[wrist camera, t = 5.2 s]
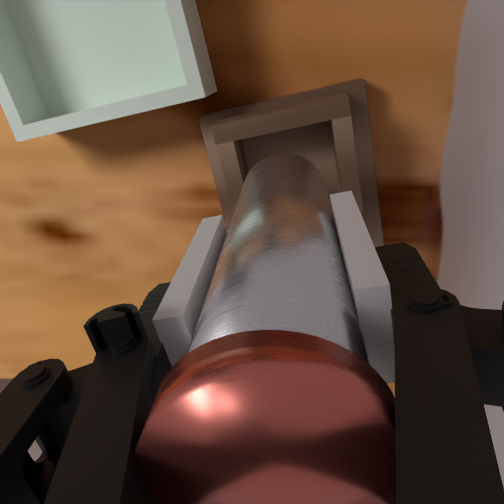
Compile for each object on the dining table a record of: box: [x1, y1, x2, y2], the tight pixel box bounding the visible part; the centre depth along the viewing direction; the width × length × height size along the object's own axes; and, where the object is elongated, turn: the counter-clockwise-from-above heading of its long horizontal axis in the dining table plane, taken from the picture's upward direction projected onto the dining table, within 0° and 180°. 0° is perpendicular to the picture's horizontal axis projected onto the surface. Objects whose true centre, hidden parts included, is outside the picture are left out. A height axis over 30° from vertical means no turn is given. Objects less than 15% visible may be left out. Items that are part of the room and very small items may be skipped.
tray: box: [0, 0, 217, 142], centre depth 24 cm, size 12×12×4 cm
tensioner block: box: [198, 78, 384, 247], centre depth 25 cm, size 13×10×10 cm
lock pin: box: [134, 153, 396, 504], centre depth 14 cm, size 5×5×15 cm
